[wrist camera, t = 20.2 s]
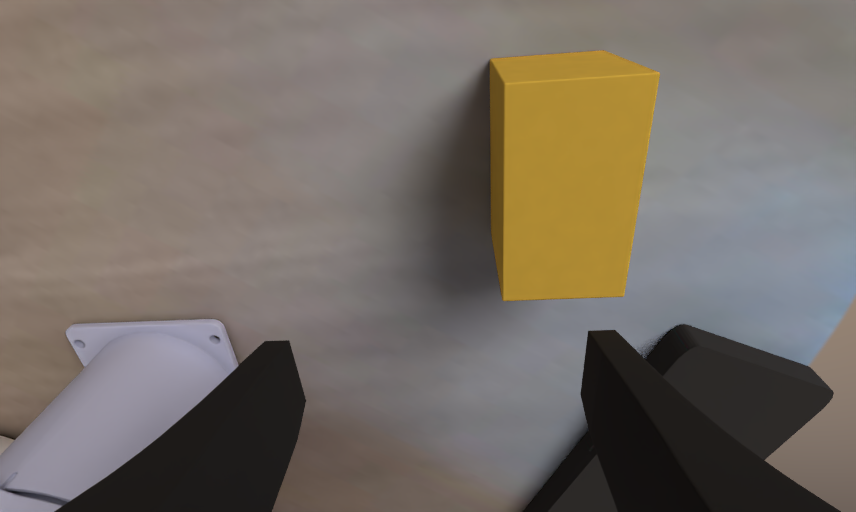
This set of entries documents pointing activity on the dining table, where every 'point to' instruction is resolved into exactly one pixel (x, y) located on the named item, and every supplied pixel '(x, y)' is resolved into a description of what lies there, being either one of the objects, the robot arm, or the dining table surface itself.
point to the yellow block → (567, 171)
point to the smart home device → (704, 408)
